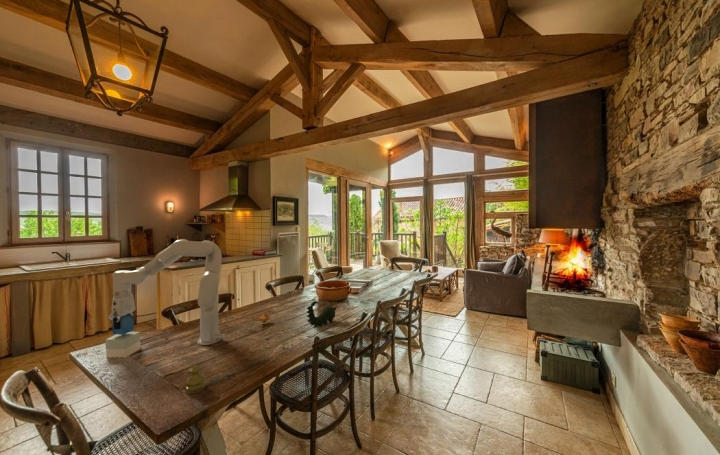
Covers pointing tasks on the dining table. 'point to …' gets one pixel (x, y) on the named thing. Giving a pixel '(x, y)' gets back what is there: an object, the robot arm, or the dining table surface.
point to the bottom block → (123, 351)
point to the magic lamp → (263, 317)
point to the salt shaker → (195, 380)
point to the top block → (122, 340)
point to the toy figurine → (326, 315)
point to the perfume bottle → (124, 325)
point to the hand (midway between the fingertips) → (123, 325)
